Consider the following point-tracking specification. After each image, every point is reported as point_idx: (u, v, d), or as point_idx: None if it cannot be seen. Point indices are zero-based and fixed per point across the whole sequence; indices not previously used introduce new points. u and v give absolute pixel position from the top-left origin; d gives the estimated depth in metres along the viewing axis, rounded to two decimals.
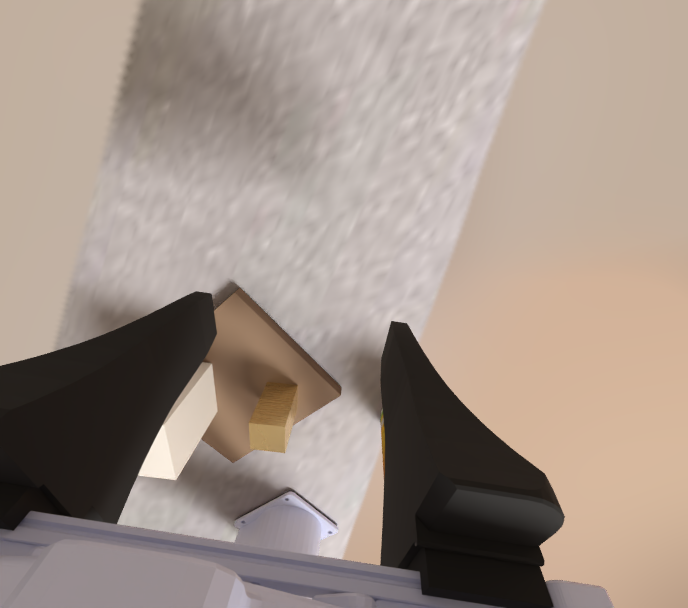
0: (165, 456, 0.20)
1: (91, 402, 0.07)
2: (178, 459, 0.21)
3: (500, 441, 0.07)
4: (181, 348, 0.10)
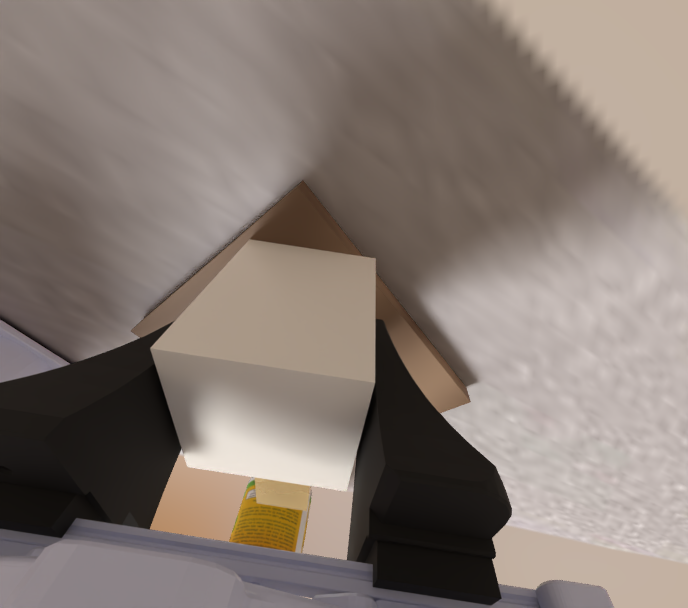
0: (257, 471, 0.10)
1: (131, 408, 0.07)
2: None
3: (457, 434, 0.07)
4: None
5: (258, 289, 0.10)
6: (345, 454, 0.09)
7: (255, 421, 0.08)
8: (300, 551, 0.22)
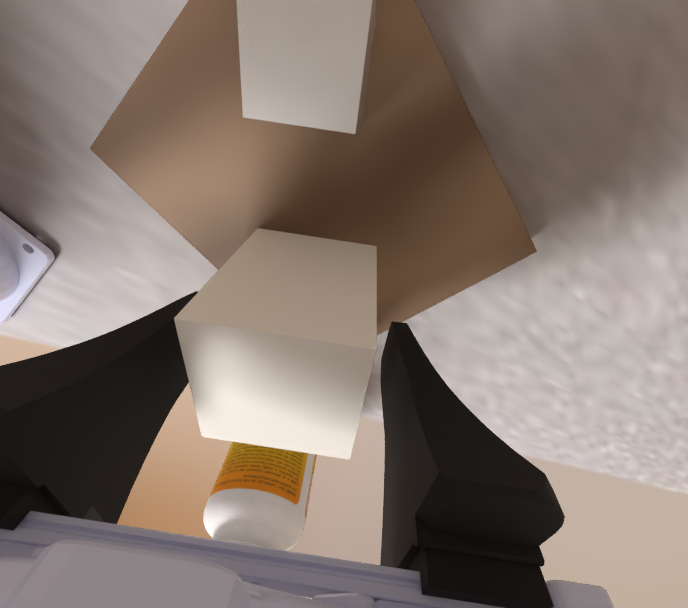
0: (267, 440, 0.10)
1: (91, 402, 0.07)
2: None
3: (500, 441, 0.07)
4: None
5: (268, 271, 0.10)
6: (349, 421, 0.09)
7: (267, 389, 0.09)
8: (310, 476, 0.18)
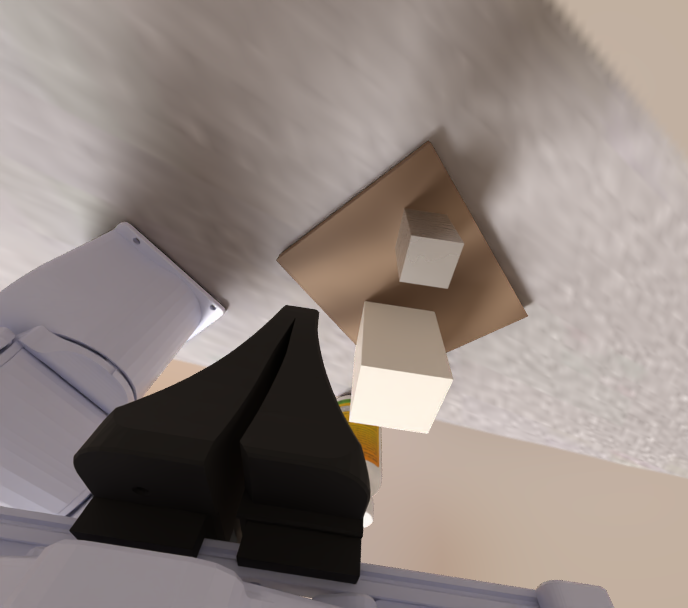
0: (384, 423, 0.20)
1: (243, 426, 0.07)
2: None
3: (339, 416, 0.07)
4: None
5: (386, 334, 0.20)
6: (432, 412, 0.19)
7: (394, 397, 0.18)
8: (381, 451, 0.27)
